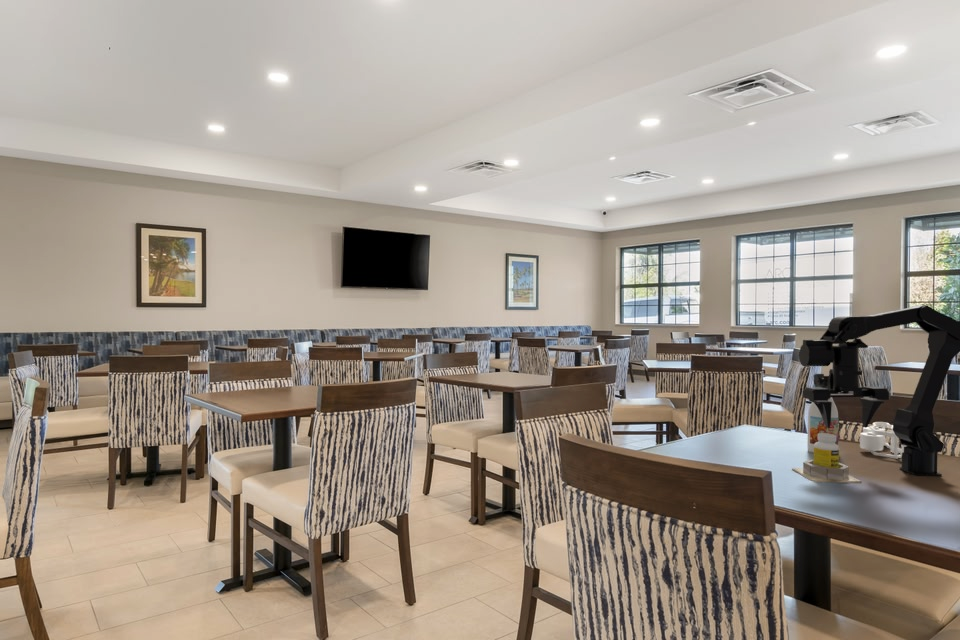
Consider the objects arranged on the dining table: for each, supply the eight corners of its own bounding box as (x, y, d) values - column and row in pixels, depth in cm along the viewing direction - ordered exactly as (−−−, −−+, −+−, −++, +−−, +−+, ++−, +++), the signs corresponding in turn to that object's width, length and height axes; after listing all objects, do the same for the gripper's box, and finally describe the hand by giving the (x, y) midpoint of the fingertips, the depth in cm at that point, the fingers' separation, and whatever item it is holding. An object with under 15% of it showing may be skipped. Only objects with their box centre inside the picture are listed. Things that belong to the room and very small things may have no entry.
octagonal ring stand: (836, 472, 153) (837, 459, 153) (861, 484, 142) (861, 470, 142) (792, 471, 153) (792, 458, 153) (813, 483, 142) (813, 469, 142)
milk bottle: (801, 450, 177) (802, 382, 177) (821, 449, 179) (822, 382, 179) (823, 456, 170) (824, 385, 170) (844, 455, 172) (845, 385, 172)
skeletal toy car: (863, 443, 189) (864, 420, 189) (906, 448, 182) (907, 424, 182) (858, 455, 172) (859, 430, 172) (906, 461, 166) (906, 434, 166)
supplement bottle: (833, 478, 144) (834, 437, 144) (809, 473, 148) (810, 434, 148) (842, 475, 147) (843, 434, 147) (818, 470, 151) (819, 431, 151)
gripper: (863, 363, 161) (864, 421, 161) (792, 364, 161) (793, 422, 161) (891, 366, 150) (891, 429, 150) (814, 367, 150) (815, 430, 150)
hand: (846, 427), depth 153 cm, fingers open, 9 cm apart
